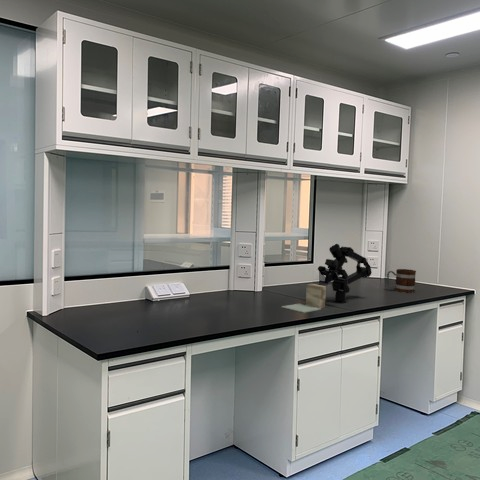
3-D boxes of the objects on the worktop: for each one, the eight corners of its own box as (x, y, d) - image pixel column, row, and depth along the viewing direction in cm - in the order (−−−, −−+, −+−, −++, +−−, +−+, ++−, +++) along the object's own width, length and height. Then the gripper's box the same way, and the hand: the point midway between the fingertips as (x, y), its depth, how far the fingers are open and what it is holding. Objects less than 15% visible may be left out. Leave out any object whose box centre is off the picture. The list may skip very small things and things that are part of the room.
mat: (299, 304, 274) (299, 303, 274) (321, 309, 262) (321, 308, 262) (281, 307, 264) (281, 306, 264) (303, 312, 252) (303, 312, 252)
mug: (412, 290, 339) (413, 269, 338) (417, 293, 326) (418, 272, 325) (384, 288, 341) (385, 268, 340) (388, 292, 328) (389, 270, 327)
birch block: (311, 304, 276) (312, 283, 275) (325, 307, 269) (326, 286, 268) (305, 305, 273) (306, 284, 272) (319, 308, 265) (320, 287, 264)
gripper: (320, 252, 285) (307, 271, 278) (346, 255, 271) (333, 276, 264) (327, 264, 291) (315, 284, 284) (353, 268, 277) (340, 289, 270)
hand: (325, 283), depth 276 cm, fingers closed
